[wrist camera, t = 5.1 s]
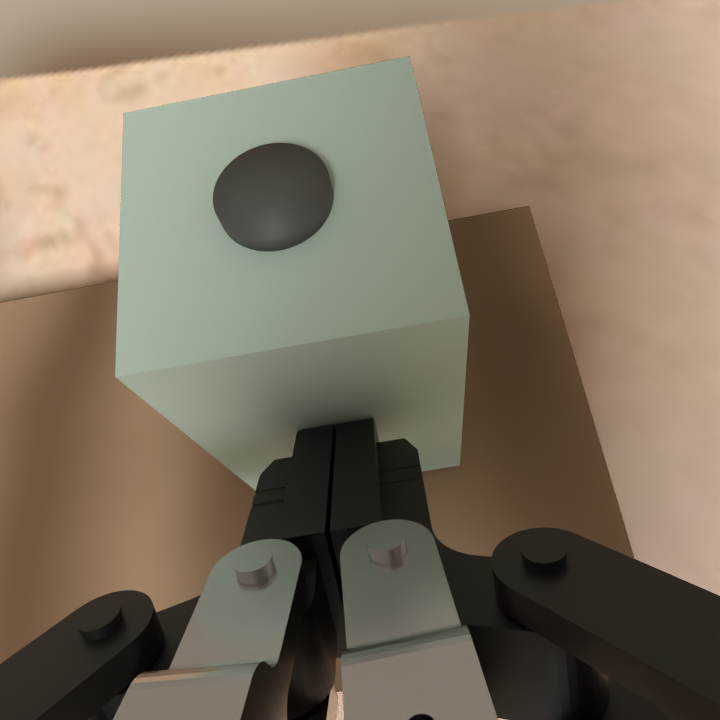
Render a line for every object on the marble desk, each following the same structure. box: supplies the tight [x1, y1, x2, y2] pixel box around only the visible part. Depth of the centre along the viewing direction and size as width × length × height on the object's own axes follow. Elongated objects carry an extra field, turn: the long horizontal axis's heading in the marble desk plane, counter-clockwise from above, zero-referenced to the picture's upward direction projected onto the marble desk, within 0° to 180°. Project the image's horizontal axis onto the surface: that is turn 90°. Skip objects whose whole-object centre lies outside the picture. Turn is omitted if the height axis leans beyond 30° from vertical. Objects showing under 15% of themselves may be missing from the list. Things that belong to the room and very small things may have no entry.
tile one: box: [115, 56, 470, 491], centre depth 13 cm, size 5×5×8 cm
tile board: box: [0, 206, 634, 692], centre depth 18 cm, size 28×12×2 cm, turn 97°
